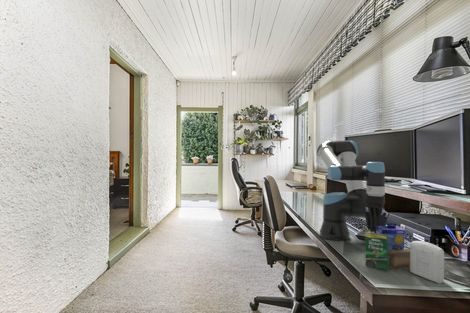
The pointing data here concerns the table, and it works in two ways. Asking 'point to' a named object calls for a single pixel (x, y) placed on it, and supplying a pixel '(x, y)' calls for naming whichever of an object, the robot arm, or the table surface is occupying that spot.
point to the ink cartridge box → (393, 236)
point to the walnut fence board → (399, 259)
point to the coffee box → (376, 250)
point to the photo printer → (427, 261)
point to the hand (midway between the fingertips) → (375, 246)
